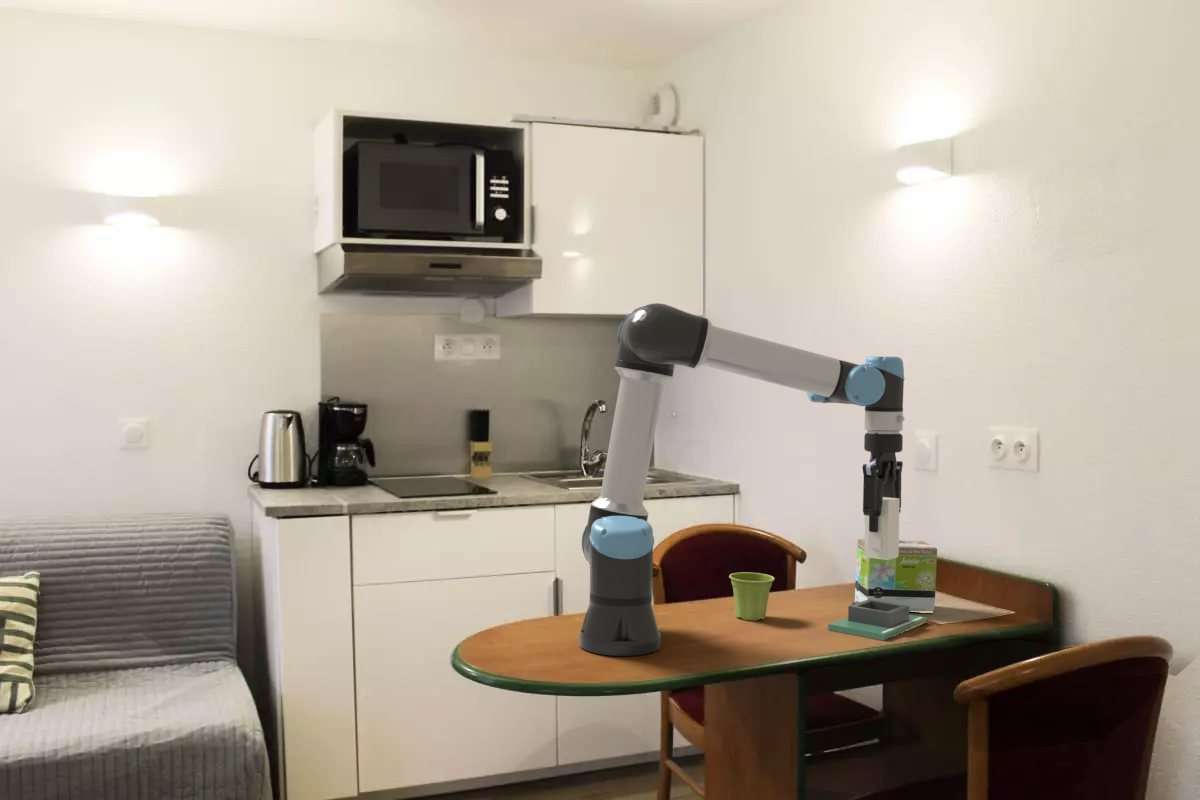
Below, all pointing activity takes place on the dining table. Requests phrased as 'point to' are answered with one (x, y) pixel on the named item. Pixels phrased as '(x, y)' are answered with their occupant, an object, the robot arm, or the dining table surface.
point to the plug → (886, 531)
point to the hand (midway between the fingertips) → (881, 546)
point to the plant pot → (751, 594)
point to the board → (876, 620)
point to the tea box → (899, 576)
